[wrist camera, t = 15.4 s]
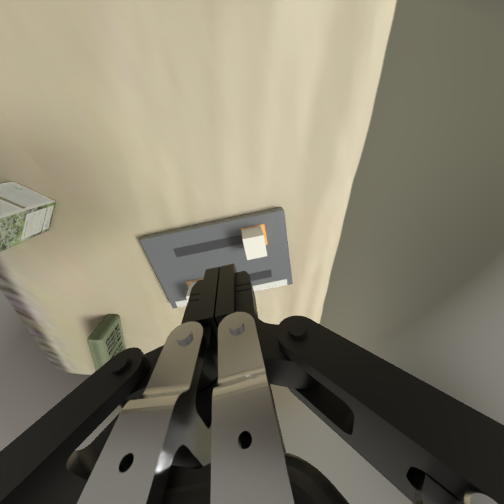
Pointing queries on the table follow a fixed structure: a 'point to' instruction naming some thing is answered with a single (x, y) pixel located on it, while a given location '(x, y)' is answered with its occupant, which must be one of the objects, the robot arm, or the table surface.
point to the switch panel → (219, 253)
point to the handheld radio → (106, 340)
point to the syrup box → (22, 214)
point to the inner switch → (254, 243)
